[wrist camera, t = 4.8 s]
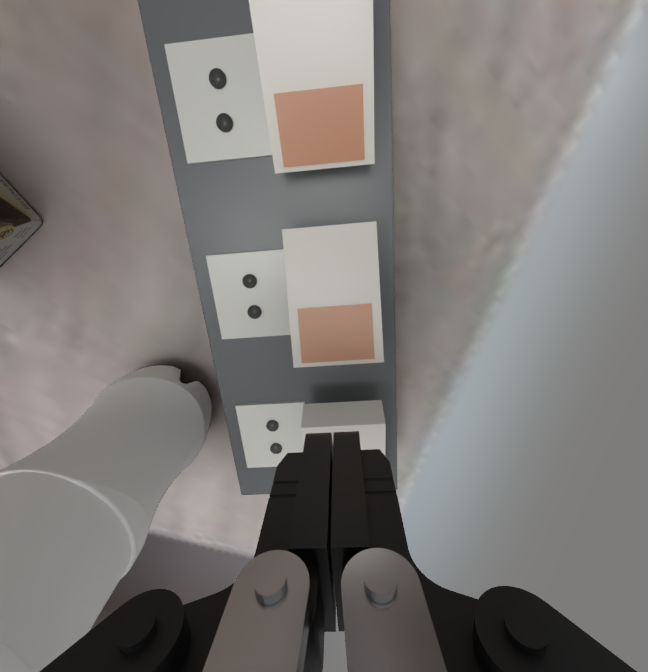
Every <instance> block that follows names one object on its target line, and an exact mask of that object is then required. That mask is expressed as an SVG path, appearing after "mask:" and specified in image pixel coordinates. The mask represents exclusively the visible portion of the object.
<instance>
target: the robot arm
mask: <svg viewBox="0 0 648 672" xmlns="http://www.w3.org/2000/svg"><path fill="white" fill-rule="evenodd" d="M336 607H337V617H338V627H339V631H345V643H346V656H347V668H348V672H637V671H635V670H634V669H633V668H631V667H630V666H629V665H627V664H626V663H625V662H623V661H622V660H621V659H619V658H618V657H617V656H615V655H614V654H613V653H612V652H610V651H609V650H608V649H606V648H605V647H604V646H602V645H601V644H600V643H598V642H597V641H596V640H594V639H593V638H592V637H591V636H589V635H588V634H587V633H585V632H584V631H583V630H582V629H580V628H579V627H578V626H576V625H575V624H574V623H572V622H571V621H570V620H568V619H567V618H566V617H565V616H563V615H562V614H561V613H559V612H558V611H557V610H555V609H554V608H552V607H551V606H550V605H549V604H548V603H546V602H545V601H543V600H542V599H540V598H539V597H537V596H536V595H534V594H532V593H530V592H527V591H525V590H523V589H520V588H515V587H510V586H498V587H494V588H491V589H489V590H487V591H486V592H484V594H482V595H481V597H480V598H479V600H478V599H474V598H472V597H469V596H465V595H462V594H459V593H456V592H453V591H450V590H447V589H445V588H442V587H441V586H439V585H437V584H435V583H434V582H432V581H431V580H429V579H428V578H427V577H425V575H424V574H422V573H421V571H420V570H419V569H418V568H417V567H416V565H415V563H414V562H413V560H412V558H411V556H410V553H409V550H408V546H407V541H406V536H405V532H404V527H403V522H402V517H401V512H400V508H399V503H398V498H397V494H396V489H395V484H394V481H393V474H392V470H391V465H390V461H389V460H388V459H387V458H386V457H385V455H384V454H383V453H382V452H381V450H380V449H371V450H361V447H360V436H359V431H351V432H334V433H333V439H332V432H331V433H307V434H306V436H305V442H304V448H303V452H298V453H287V454H286V456H285V457H284V458H283V459H282V461H281V462H280V463H279V464H278V466H277V468H276V472H275V476H274V480H273V485H272V488H271V492H270V498H269V501H268V505H267V509H266V513H265V517H264V521H263V525H262V529H261V533H260V537H259V541H258V545H257V549H256V553H255V556H254V558H253V559H252V560H250V561H249V562H248V563H247V564H246V565H245V566H244V567H243V568H242V570H241V571H240V573H239V574H238V576H237V578H236V580H235V582H234V583H233V584H232V585H231V586H229V587H228V588H226V589H224V590H222V591H220V592H218V593H216V594H213V595H210V596H207V597H205V598H202V599H199V600H197V601H193V602H191V603H188V604H185V605H183V604H182V601H181V600H180V598H179V597H178V596H177V595H176V594H175V593H174V592H172V591H170V590H166V589H155V590H150V591H146V592H144V593H141V594H139V595H137V596H135V597H133V598H132V599H130V600H129V601H127V602H126V603H124V604H123V605H122V606H120V607H119V608H118V609H117V610H116V611H114V612H113V613H112V614H111V615H109V616H108V617H107V618H106V619H104V620H103V621H102V622H101V623H99V624H98V625H97V626H96V627H94V628H93V629H92V630H91V631H89V632H88V633H87V634H86V635H84V636H83V637H82V638H81V639H79V640H78V641H77V642H76V643H74V644H73V645H72V646H71V647H69V648H68V649H67V650H66V651H64V652H63V653H62V654H61V655H59V656H58V657H57V658H56V659H54V660H53V661H52V662H51V663H50V664H48V665H47V666H46V667H45V668H43V669H42V670H41V671H40V672H322V669H323V655H324V654H323V653H324V632H327V631H328V632H330V631H331V632H333V631H334V632H335V631H336Z"/></svg>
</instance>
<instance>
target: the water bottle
mask: <svg viewBox="0 0 648 672" xmlns="http://www.w3.org/2000/svg"><path fill="white" fill-rule="evenodd" d="M180 372H181V370H180V369H177V368H176V367H173V366H164V365H159V366H150V367H145V368H141V369H138V370H136V371H133V372H131V373H129V374H127V375H125V376H123V377H121V378H120V379H118V380H117V381H115V382H114V383H113V384H111V385H110V386H109V387H107V388H106V389H105V390H103V391H102V392H101V393H100V394H99V395H98V396H97V398H96V399H95V400H94V402H93V403H92V405H91V406H90V407H89V408H88V409H87V411H86V412H85V413H84V414H83V415H82V416H81V417H80V418H79V419H78V420H77V421H76V422H75V423H74V424H73V425H72V426H71V427H70V428H69V429H67V430H66V431H65V432H64V433H62V434H61V435H60V436H58V437H57V438H55V439H54V440H53V441H51V442H50V443H48V444H47V445H45V446H44V447H42V448H40V449H39V450H37V451H36V452H34V453H32V454H30V455H29V456H27V457H25V458H23V459H21V460H19V461H18V462H16V463H14V464H12V465H10V466H8V467H6V468H4V469H2V470H0V672H40V671H41V670H42V669H43V668H45V667H46V666H47V665H48V664H50V663H51V662H52V661H53V660H54V659H56V658H57V657H58V656H59V655H61V654H62V653H63V652H64V651H66V650H67V649H68V648H69V647H71V646H72V645H73V644H74V643H76V642H77V641H78V640H79V639H81V638H82V637H83V636H84V635H86V634H87V633H88V632H89V630H90V629H91V627H92V625H93V624H94V622H95V620H96V618H97V617H98V615H99V614H100V612H101V610H102V609H103V607H104V605H105V604H106V602H107V600H108V599H109V597H110V595H111V593H112V592H113V590H114V589H115V587H116V585H117V583H118V582H119V580H120V579H121V578H122V577H123V576H125V574H127V572H128V571H129V570H130V568H131V567H132V565H133V563H134V562H135V560H136V558H137V556H138V555H139V553H140V551H141V549H142V547H143V545H144V542H145V540H146V537H147V534H148V531H149V527H150V524H151V522H152V519H153V517H154V514H155V511H156V509H157V507H158V505H159V503H160V501H161V500H162V498H163V496H164V494H165V493H166V491H167V490H168V488H169V487H170V485H171V484H172V482H173V481H174V480H175V478H176V477H177V476H178V475H179V474H180V473H181V472H182V471H183V470H184V469H185V468H186V467H188V466H189V465H190V463H191V462H192V461H193V460H194V459H195V457H196V456H197V454H198V452H199V451H200V449H201V447H202V446H203V444H204V442H205V440H206V436H207V432H208V428H209V425H210V420H211V414H212V406H211V400H210V397H209V394H208V392H207V390H206V388H205V387H204V386H203V385H202V384H201V383H200V382H199V381H194V382H191V383H188V384H184V383H182V382H181V381H180Z"/></svg>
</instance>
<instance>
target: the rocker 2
mask: <svg viewBox="0 0 648 672" xmlns="http://www.w3.org/2000/svg"><path fill="white" fill-rule="evenodd" d="M282 238H283V250H284V261H285V273H286V285H287V297H288V308H289V320H290V332H291V344H292V356H293V367H294V368H299V367H316V366H332V365H349V364H365V363H382V362H384V352H383V334H382V315H381V297H380V278H379V259H378V241H377V222H376V221H373V222H361V223H350V224H339V225H327V226H316V227H304V228H293V229H282Z"/></svg>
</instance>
